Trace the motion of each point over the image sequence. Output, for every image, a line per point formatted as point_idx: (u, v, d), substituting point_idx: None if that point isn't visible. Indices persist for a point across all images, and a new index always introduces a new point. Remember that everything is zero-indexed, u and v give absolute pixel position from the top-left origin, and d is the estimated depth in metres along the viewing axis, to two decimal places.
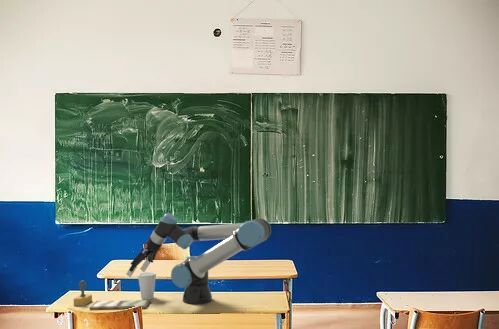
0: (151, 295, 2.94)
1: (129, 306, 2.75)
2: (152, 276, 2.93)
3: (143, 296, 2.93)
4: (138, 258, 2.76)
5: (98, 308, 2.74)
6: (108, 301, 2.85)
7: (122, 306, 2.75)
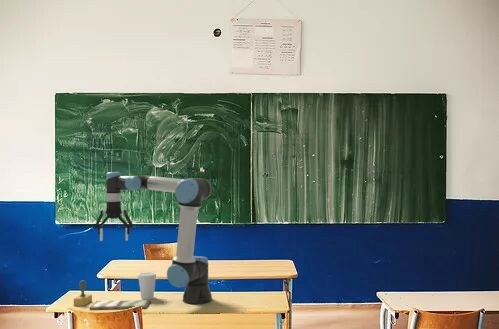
0: (151, 295, 2.94)
1: (129, 306, 2.75)
2: (152, 276, 2.93)
3: (143, 296, 2.93)
4: None
5: (98, 308, 2.74)
6: (108, 301, 2.85)
7: (122, 306, 2.75)
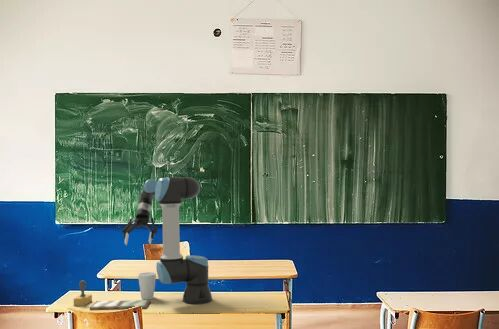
0: (151, 295, 2.94)
1: (129, 306, 2.75)
2: (152, 276, 2.93)
3: (143, 296, 2.93)
4: None
5: (98, 308, 2.74)
6: (108, 301, 2.85)
7: (122, 306, 2.75)
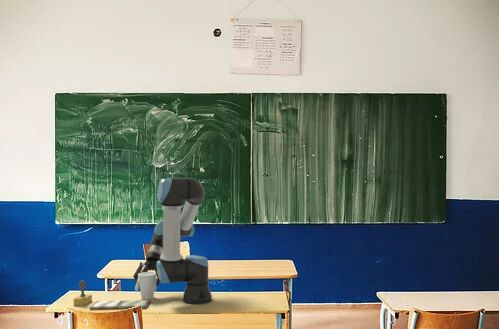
0: (151, 295, 2.94)
1: (129, 306, 2.75)
2: (152, 276, 2.93)
3: (143, 296, 2.93)
4: None
5: (98, 308, 2.74)
6: (108, 301, 2.85)
7: (122, 306, 2.75)
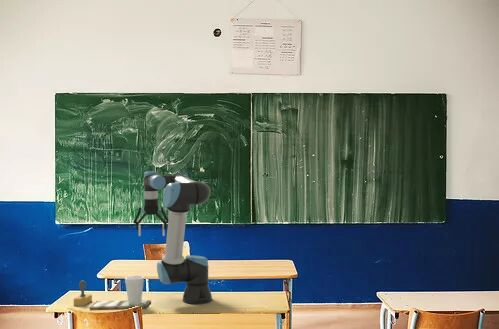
0: (139, 300, 2.79)
1: (129, 306, 2.75)
2: (140, 280, 2.78)
3: (130, 301, 2.78)
4: None
5: (98, 308, 2.74)
6: (108, 301, 2.85)
7: (122, 306, 2.75)
